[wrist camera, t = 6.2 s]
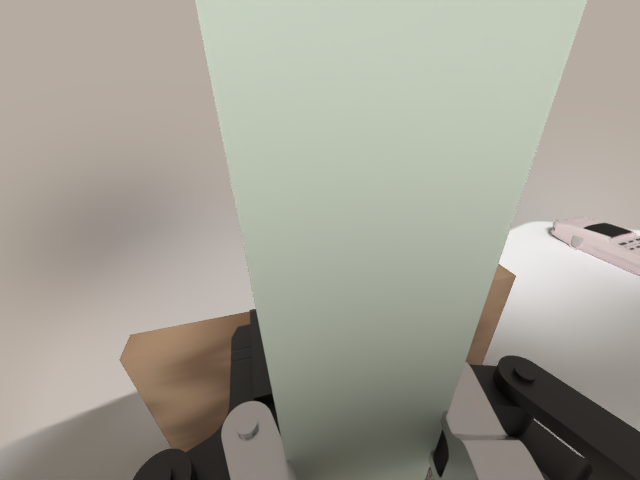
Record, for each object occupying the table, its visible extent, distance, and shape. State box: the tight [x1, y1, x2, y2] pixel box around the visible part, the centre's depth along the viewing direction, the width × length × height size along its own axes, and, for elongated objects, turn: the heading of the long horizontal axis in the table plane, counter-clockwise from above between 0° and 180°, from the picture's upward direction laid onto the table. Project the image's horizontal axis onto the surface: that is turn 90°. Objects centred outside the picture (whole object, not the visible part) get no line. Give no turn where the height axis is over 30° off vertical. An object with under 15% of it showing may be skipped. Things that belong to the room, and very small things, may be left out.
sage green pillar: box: [195, 0, 587, 480], centre depth 10 cm, size 4×6×22 cm, turn 14°
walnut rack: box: [120, 264, 516, 452], centre depth 15 cm, size 22×8×10 cm, turn 104°
